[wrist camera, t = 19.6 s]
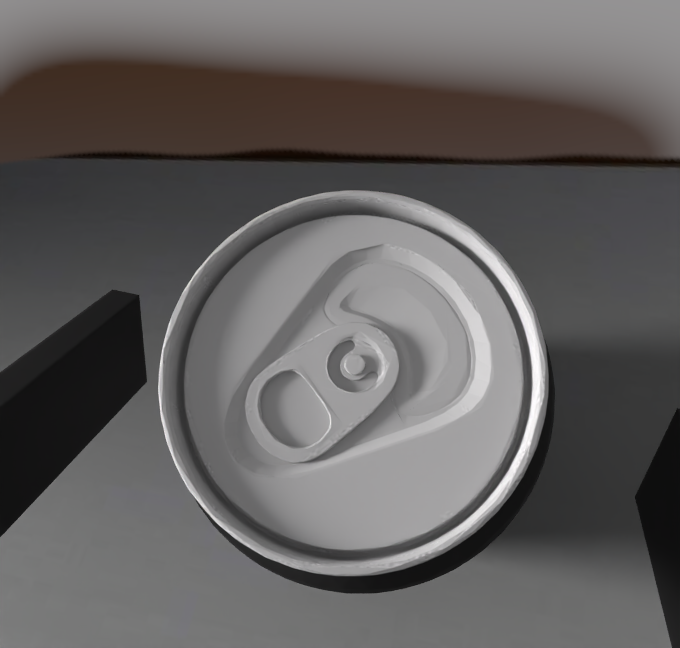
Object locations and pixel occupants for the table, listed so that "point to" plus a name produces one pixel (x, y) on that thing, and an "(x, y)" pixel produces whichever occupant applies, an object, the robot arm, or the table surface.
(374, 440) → the beverage can
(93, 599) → the table surface
